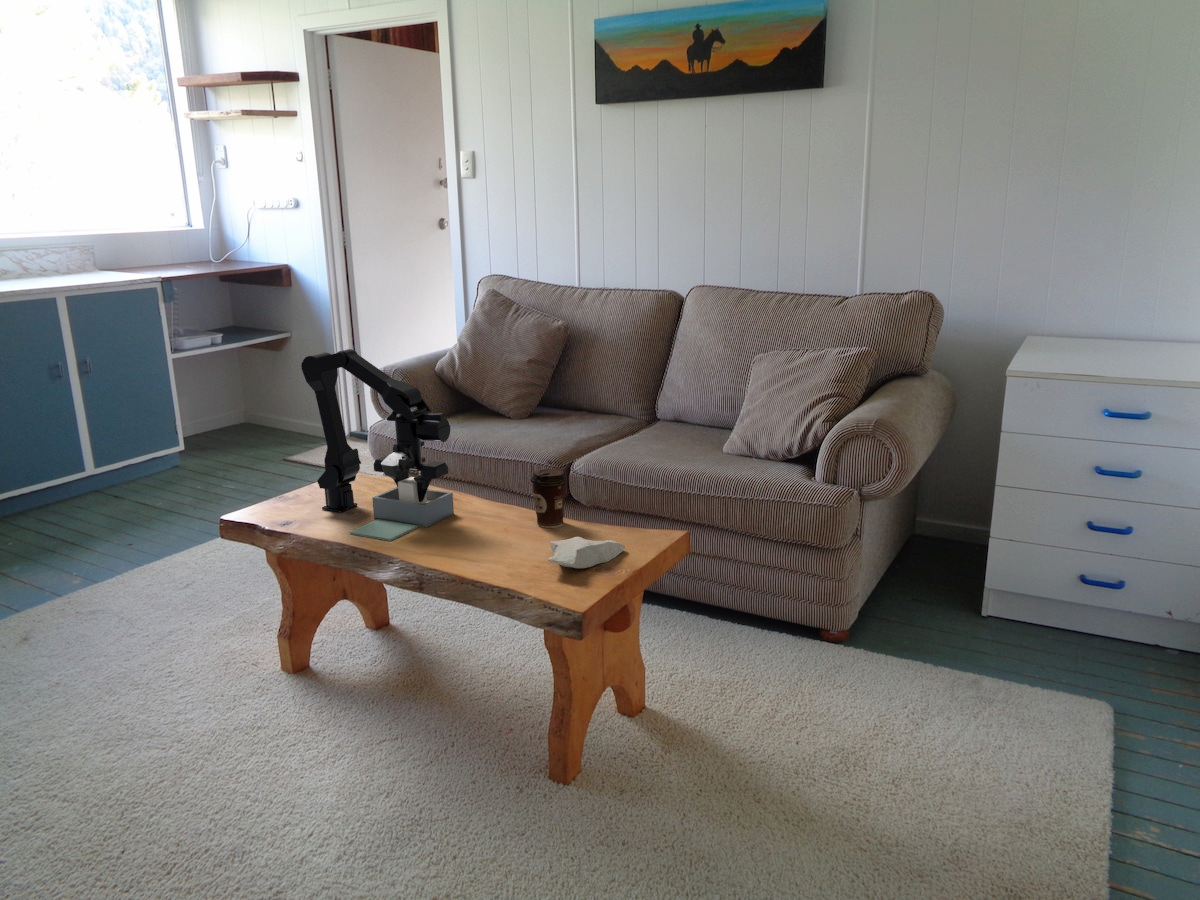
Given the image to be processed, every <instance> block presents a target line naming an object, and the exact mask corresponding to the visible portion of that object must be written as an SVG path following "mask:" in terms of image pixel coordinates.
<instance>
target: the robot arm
mask: <svg viewBox="0 0 1200 900" xmlns="http://www.w3.org/2000/svg"><path fill="white" fill-rule="evenodd" d="M300 367H301V371H302V374H303V376H304V379H305V382H306V383H307V385H308V386H309V387H310V388H311V389H312V391H313V392H314V394H315V395H314V396H315V399H316V402H317V408H318V412H319V416H320V420H321V424H322V429H323V430H322V431H323V435H324V439H325V443H326V447H327V448H326V452H325V456H324V472H323V473H322V474H321V475H320V476H319V478H318V479H317V484H318V487H319V489H322V490H323V489H324V496H325V498H324V499H325V504H326V505H325V506H322V507H321V510H325V511H330V512H338V513H342V512H345V511H348V510H349V509H352V508H355V507H356V506H358V502H355V499H354V498H355V497H354V490H353V488H352V482H355V481H356V478H357V475H358V473H359V471H360V468H361V464H362V461H361V460H360V457H359V456H360V455H359V450H358V448H352V447H351V446H350V444H348V440H347V437H346V436H347V435H346V431H345V427H344V422H343V419H342V415H341V410H340V405H339V400H338V396H337V392H336V384H337V380H338V377H339V372H338V369H339V368H342V369H344V370H345V371H347V372H348V373H349V374H351V375H352V376H354V377H355V378H356V379H358V380H360V381H361V382H362V383H364V384H365V385H367V386H368V387H369V388H371V389H372V390H373V391H375V392H377V393H378V394H379V396H381V398H382V400H383V402H384V404H385V405H386V406H387V407H389V409H391V410H392V412H391V413H390V414H389V416H388V417H386V420H387V421H388V422H390V421H391V422H394V425H395V426H394V427H395V428H394V429H395V438H396V439H395V441H396V443H395V444H393V446H392V453H390V454H388V455H384V456H382V457H380V458H377V459H375V460H374V463H373V465H372V466H373V471H374V472H378V473H384V474H383V475H384V476H386V477H389V478H390V479H391V480H393V481H394V483H395V485H396V487H398V482H399V481H401V480H404V479H406V478H409V477H410V476H409V475H410V474H409V473H410V471H411V472H418V475H417V476H413V477H414V480H415V481H416V482H417V489H418V499H419V502H422V501H423V500H424V497H425V494H426V492H427V489H429V488H430V484H431V482H432V481H433V480H434V479H435V480H436V479H439V478H440V477H442V476H446V475H448V474H449V465H448V464H447V463H446V462H445V461H436V460H433V461H431V462H428V463H426V464H425V462H426V457H424V456H422V454H423V453H422V447H423V446H425V442H437V443H446V442H447V441H448V439H449V437H450V435H451V425H450V422H449V421H448V419H447V418H446V417H445V413H444V412H438V413H437V412H436V413H433V411H432V410H431V407H430V406H428V404H427V402H426V401H425V400H424V398H423V397H422V395H421V394H422V392H421V391H420V390H419V388H418V387H415V386H414V385H411V384H410V383H408V382H405V381H402V380H397V379H395V378H393V377H391V376H390V375H388V374H387V373H385V372H383V371H382V370H380V369H379V368H378V367H377V366H375V365H374V364H372V363H371V362H369V361H368V360H367V359H366V358H363V357H362V356H361V355H359V354H358V353H357V351H356V350H354V349H351V348H347V349H345V350H339V351H337V352H336V353H333V354H331V353H329V352H326V351H325V352H321V353H317V354H311V355H308V356H305V357H304V359H303V360H302V362H301V365H300ZM413 410H414V411H413ZM423 463H424V464H423Z"/></svg>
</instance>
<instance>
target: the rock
mask: <svg viewBox="0 0 1200 900" xmlns="http://www.w3.org/2000/svg"><path fill="white" fill-rule="evenodd" d="M549 543H550V548H551V551H552V552H553V555H552V556H549V557H548V558H547V561H548V562H549V563H552V564H557V565H560V566H561V567H564V568H565V567H567V568H574V569H586V568H591V567H594V566H596V565H598V564H603V563H608V562H609V561H611V560H613V559H615V558H616V557H618V555H620V554H621V553H622V552H623V551H624V550H625V549H626V545H624V544H623V543H620V542H617V541H615V540H613V539H609V540H607V539H606V540H590V539H586V538H583V537H581V536H574V537H572V538H571V537H570V538H568V539H563V540H553V541H552V540H551V541H550V542H549Z"/></svg>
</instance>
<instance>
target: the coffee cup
mask: <svg viewBox="0 0 1200 900" xmlns="http://www.w3.org/2000/svg"><path fill="white" fill-rule="evenodd" d="M529 482H531V483H532V495H533V496H532V497H533V502H534V511H535V515H536V520H537V521H536V522H537V524H536V525H537V526H539V527H542V528H547V529H554V528H555V529H556V528H560V527H563V525H564V523H565V521H564V518H565V517H564V516H565V503H566V500H565V497H566V489H567V486H566V485H567V483H568V477H567V476H566V475H565V472H564V471H563V470H560V469H551V468H542V469H536V470H535V471H534V472H533V473H532V476H531V477H530V479H529Z"/></svg>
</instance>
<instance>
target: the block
mask: <svg viewBox="0 0 1200 900" xmlns="http://www.w3.org/2000/svg"><path fill="white" fill-rule="evenodd" d="M414 477H415V476H409V478H406V479H404V480H401V481H399V482H398V491H399V500H401V501H407V502H414V503H421V504H424V503H426V502H427V495H426V494H425V497H424V500H423V501H422V502H419V499H418V489H417V482H416V481H415V480H414Z"/></svg>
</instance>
